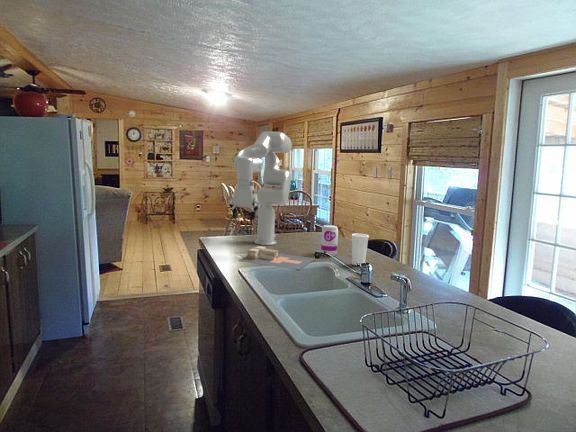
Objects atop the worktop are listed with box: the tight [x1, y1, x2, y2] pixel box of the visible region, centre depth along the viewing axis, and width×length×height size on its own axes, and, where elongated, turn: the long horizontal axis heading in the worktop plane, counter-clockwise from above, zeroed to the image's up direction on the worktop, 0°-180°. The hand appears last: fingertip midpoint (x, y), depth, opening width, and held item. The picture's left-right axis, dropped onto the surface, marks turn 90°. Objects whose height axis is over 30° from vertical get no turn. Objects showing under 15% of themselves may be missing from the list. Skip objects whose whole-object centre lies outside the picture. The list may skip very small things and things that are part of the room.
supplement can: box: [320, 224, 339, 257], centre depth 221 cm, size 8×8×15 cm
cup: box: [351, 233, 370, 266], centre depth 203 cm, size 8×8×14 cm
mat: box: [238, 253, 317, 271], centre depth 206 cm, size 24×30×1 cm
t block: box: [247, 245, 279, 260], centre depth 208 cm, size 12×12×4 cm
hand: (243, 218), depth 210 cm, fingers open, 9 cm apart
